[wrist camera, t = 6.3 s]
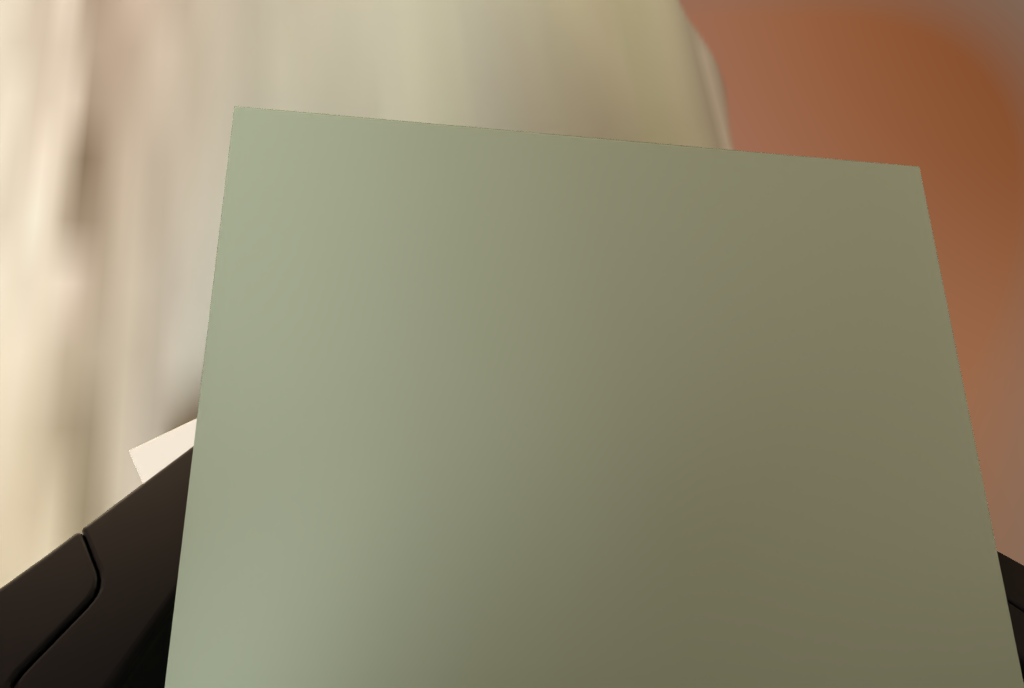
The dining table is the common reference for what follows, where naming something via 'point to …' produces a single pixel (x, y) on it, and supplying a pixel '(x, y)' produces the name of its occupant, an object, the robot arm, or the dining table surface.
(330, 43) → the dining table surface
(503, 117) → the dining table surface
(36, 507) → the dining table surface
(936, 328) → the sage block
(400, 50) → the dining table surface
